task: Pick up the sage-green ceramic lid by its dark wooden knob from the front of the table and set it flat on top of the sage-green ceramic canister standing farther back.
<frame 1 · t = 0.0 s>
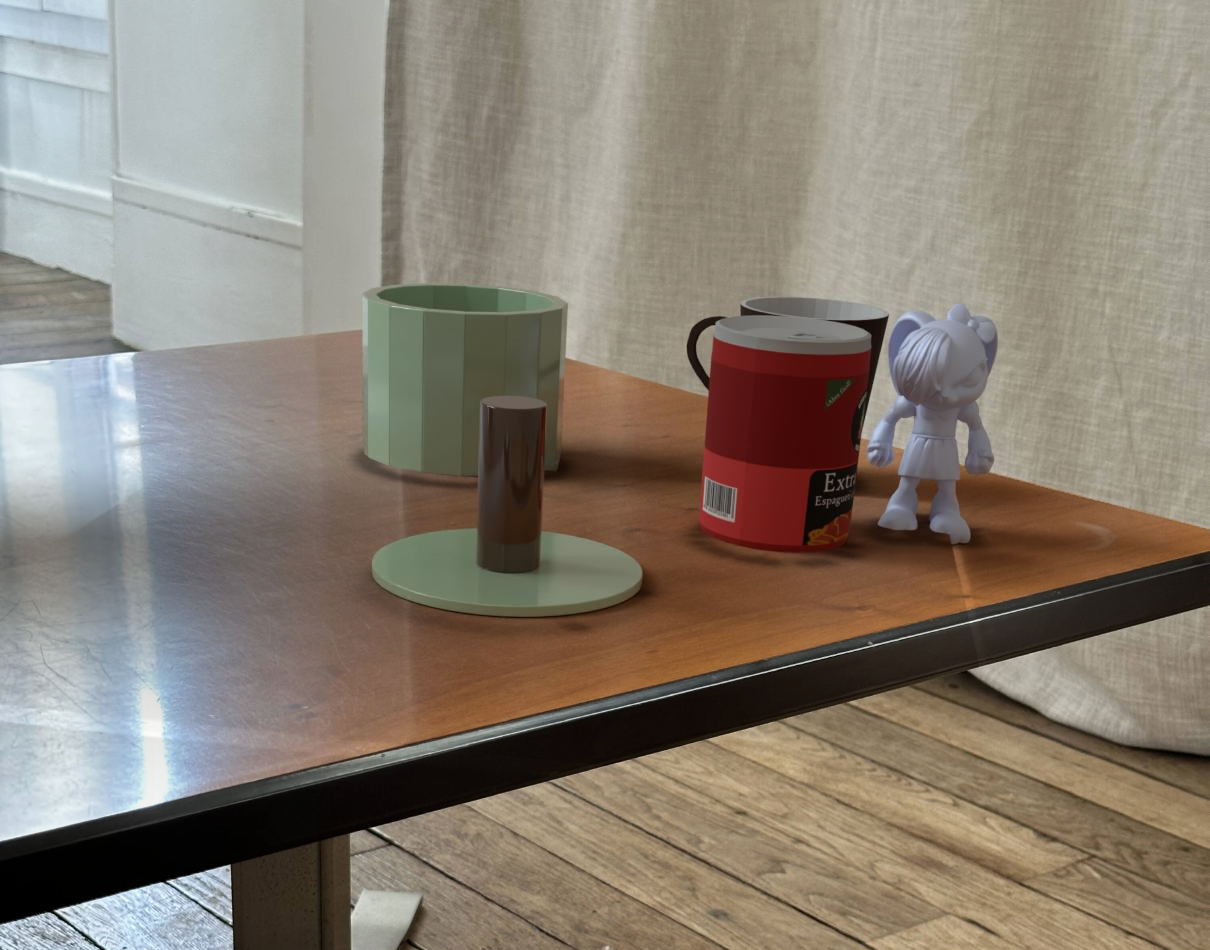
lid: (507, 574, 80), point 1 cm above the table
canned food: (771, 545, 90), on the table
canister: (462, 461, 103), on the table
toy figurine: (920, 534, 94), on the table
coffee mug: (780, 476, 105), on the table
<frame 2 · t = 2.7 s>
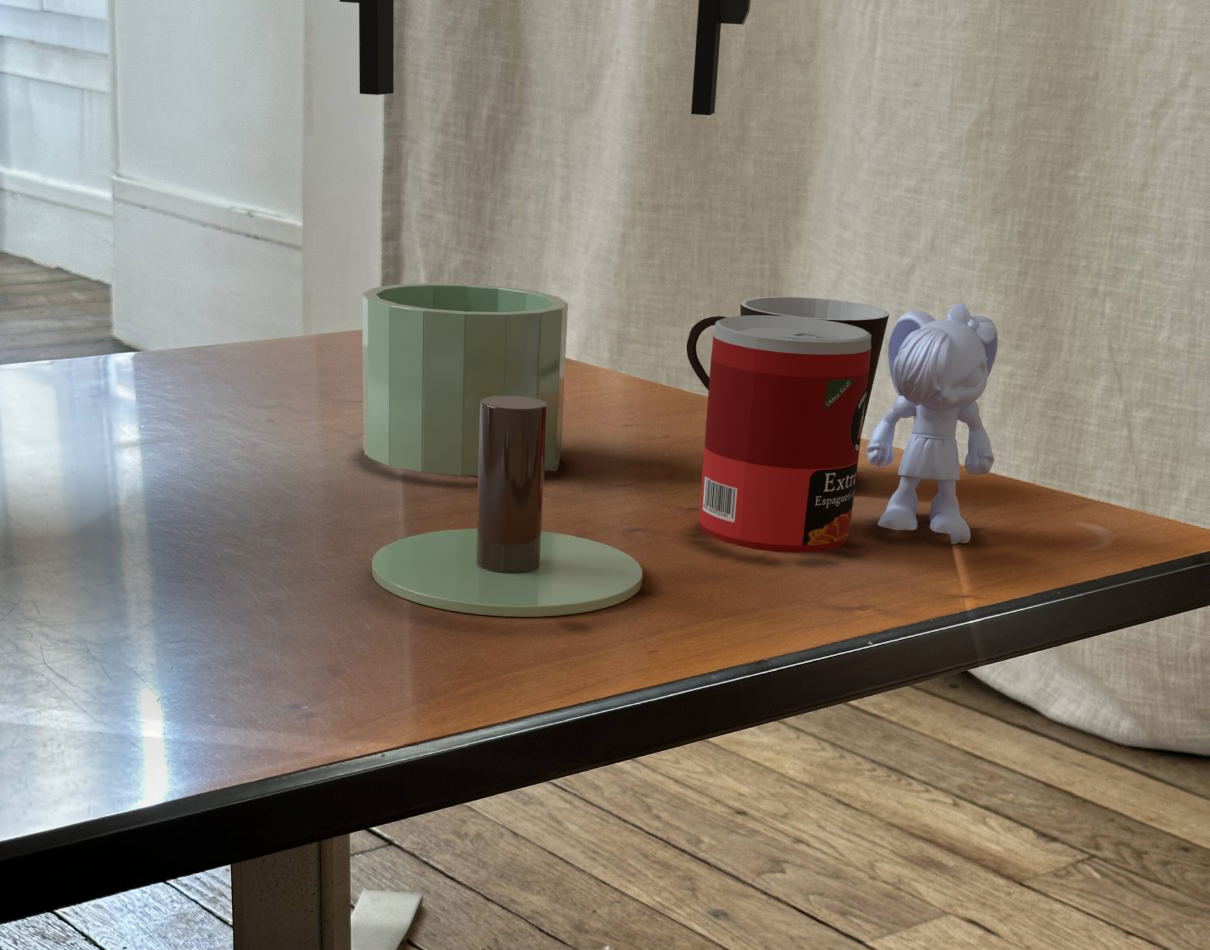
hand: (538, 104, 70), 21 cm above the table, tool pointing down, fingers open, 13 cm apart
nothing on the table moved.
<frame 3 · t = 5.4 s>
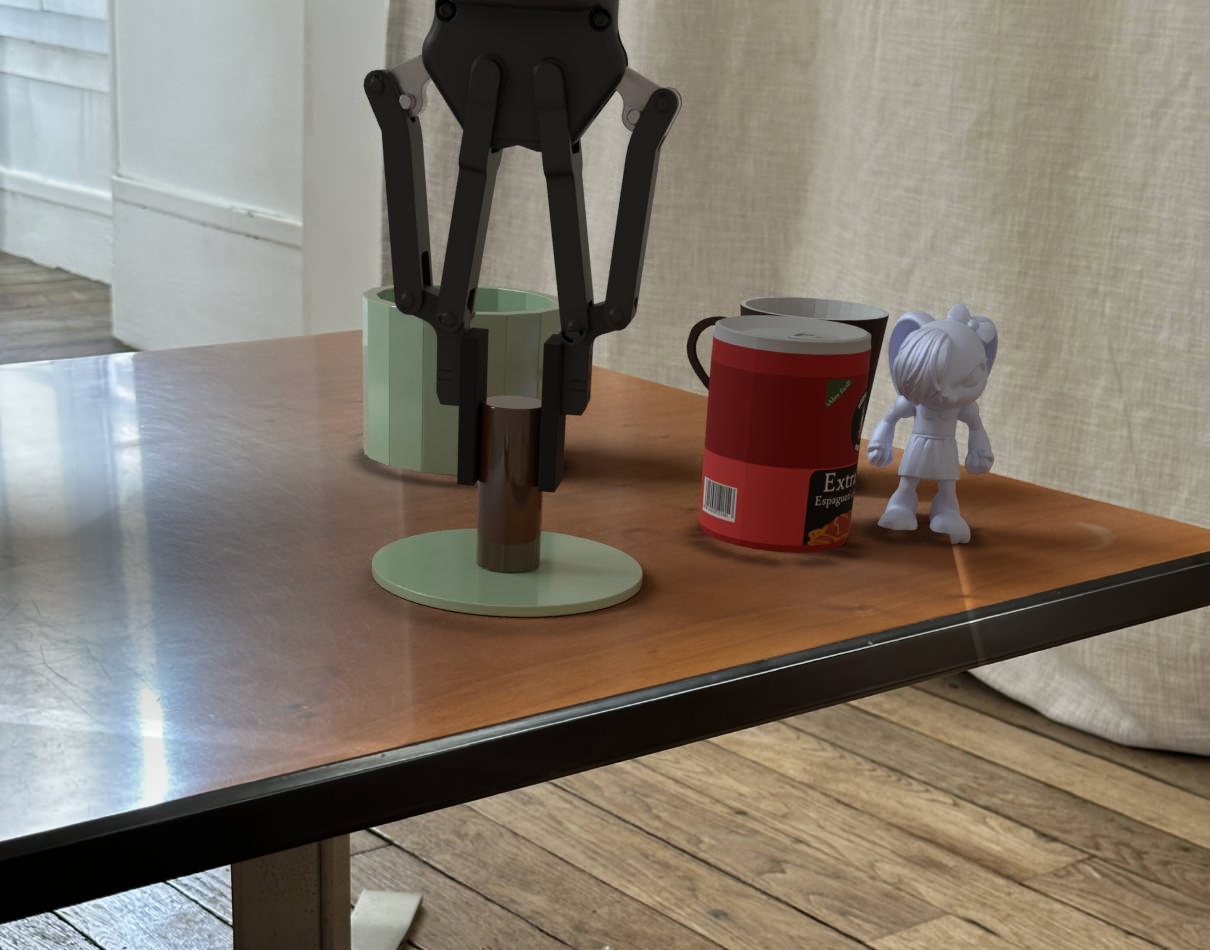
hand: (510, 480, 78), 5 cm above the table, tool pointing down, fingers closed on lid, 3 cm apart
lid: (507, 574, 80), point 1 cm above the table, touching gripper
everything else where it was.
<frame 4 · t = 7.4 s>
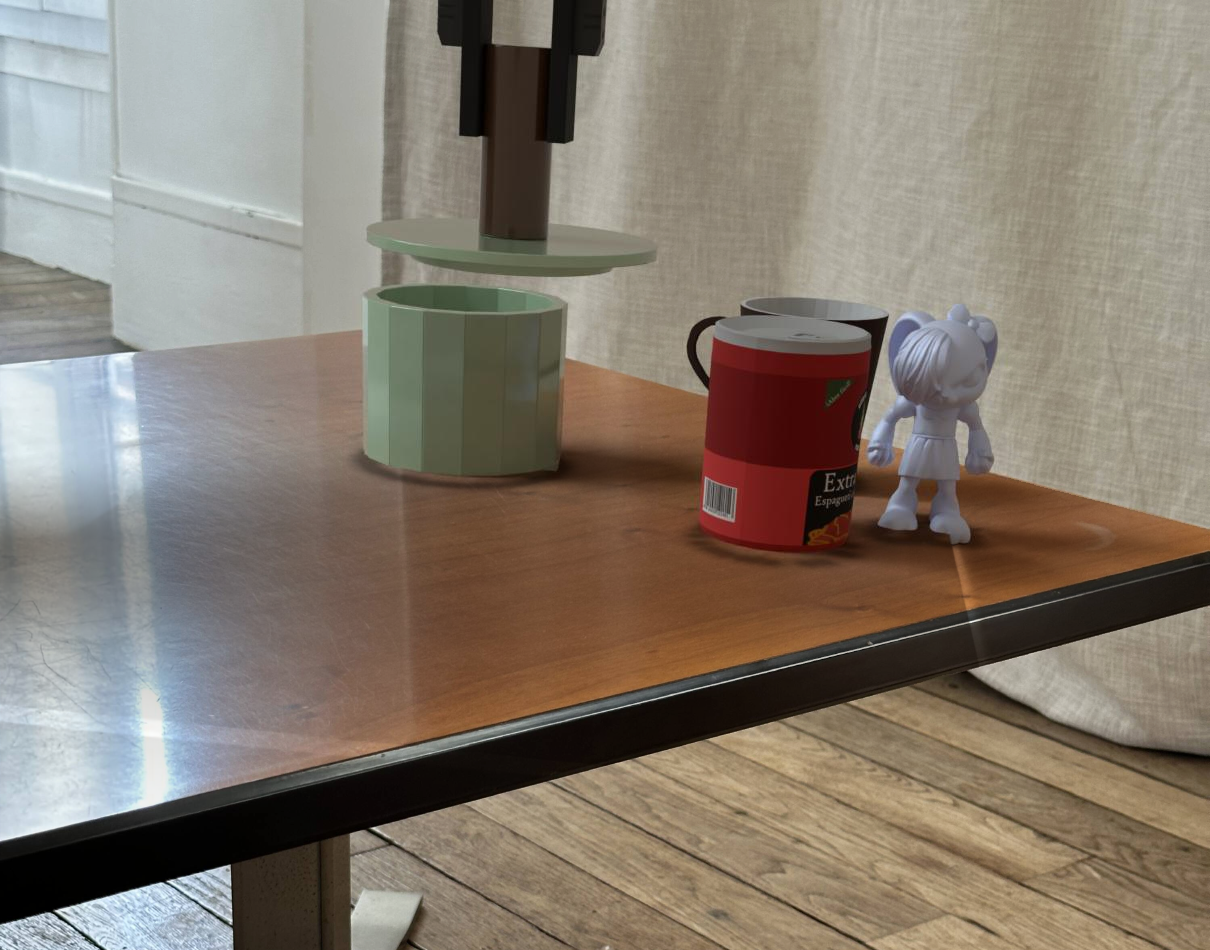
hand: (517, 137, 72), 20 cm above the table, tool pointing down, fingers closed on lid, 3 cm apart
lid: (512, 247, 74), point 15 cm above the table, touching gripper
everything else where it was.
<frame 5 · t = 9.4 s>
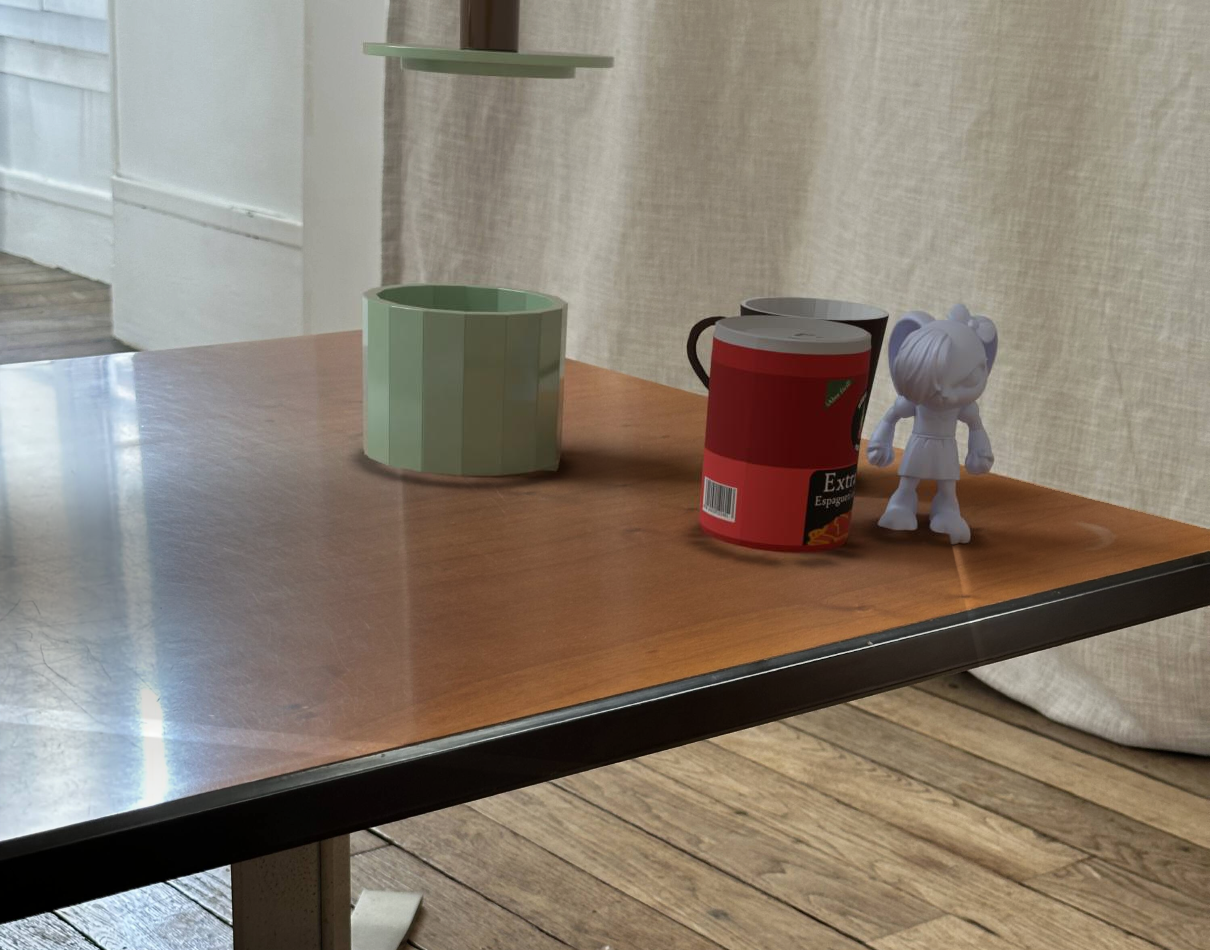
lid: (488, 60, 86), point 22 cm above the table, touching gripper
everything else where it was.
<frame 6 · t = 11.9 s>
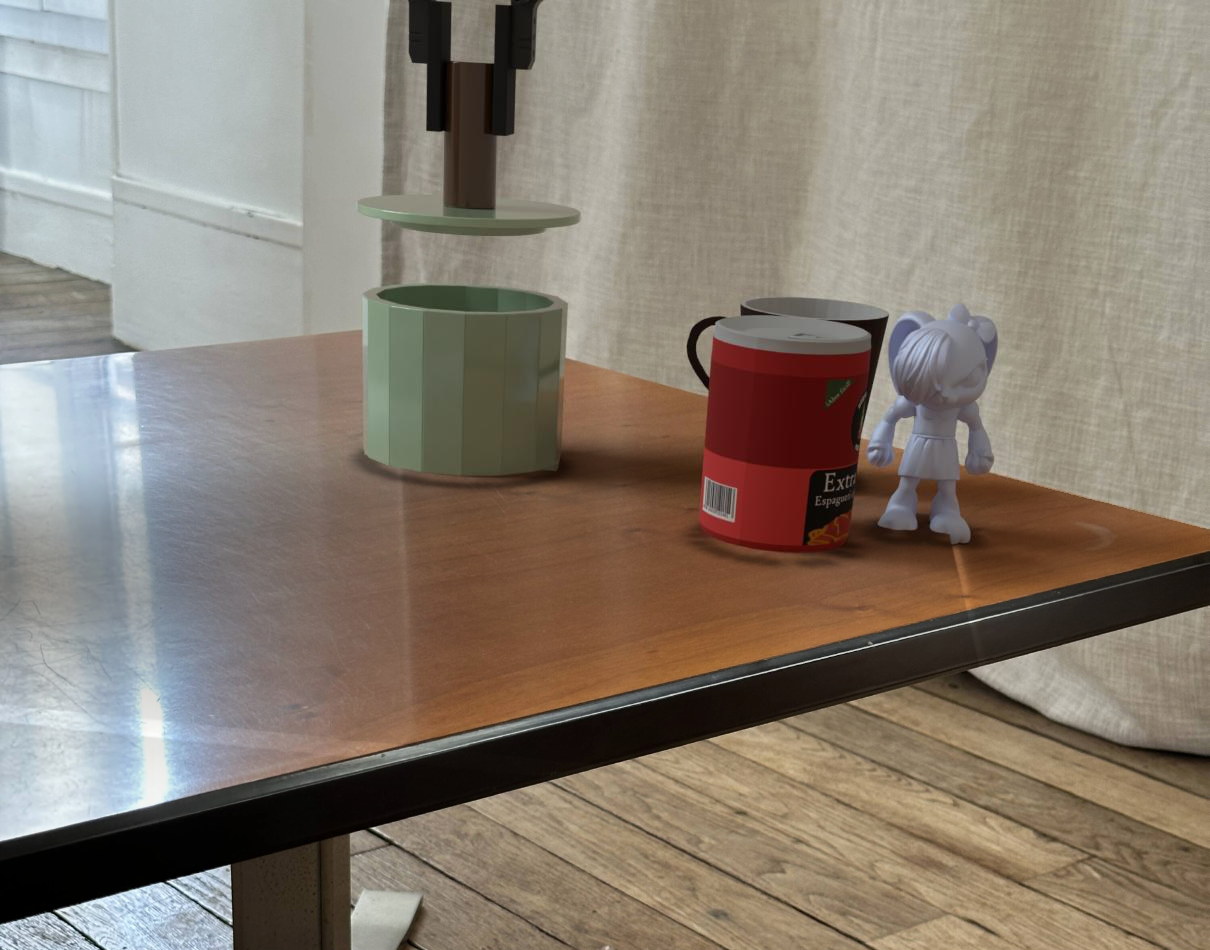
hand: (470, 131, 95), 18 cm above the table, tool pointing down, fingers closed on lid, 3 cm apart
lid: (469, 215, 97), point 14 cm above the table, touching gripper
everything else where it was.
when the fingers open (14 cm above the table, at t = 13.5 s): lid stays where it is, resting on canister.
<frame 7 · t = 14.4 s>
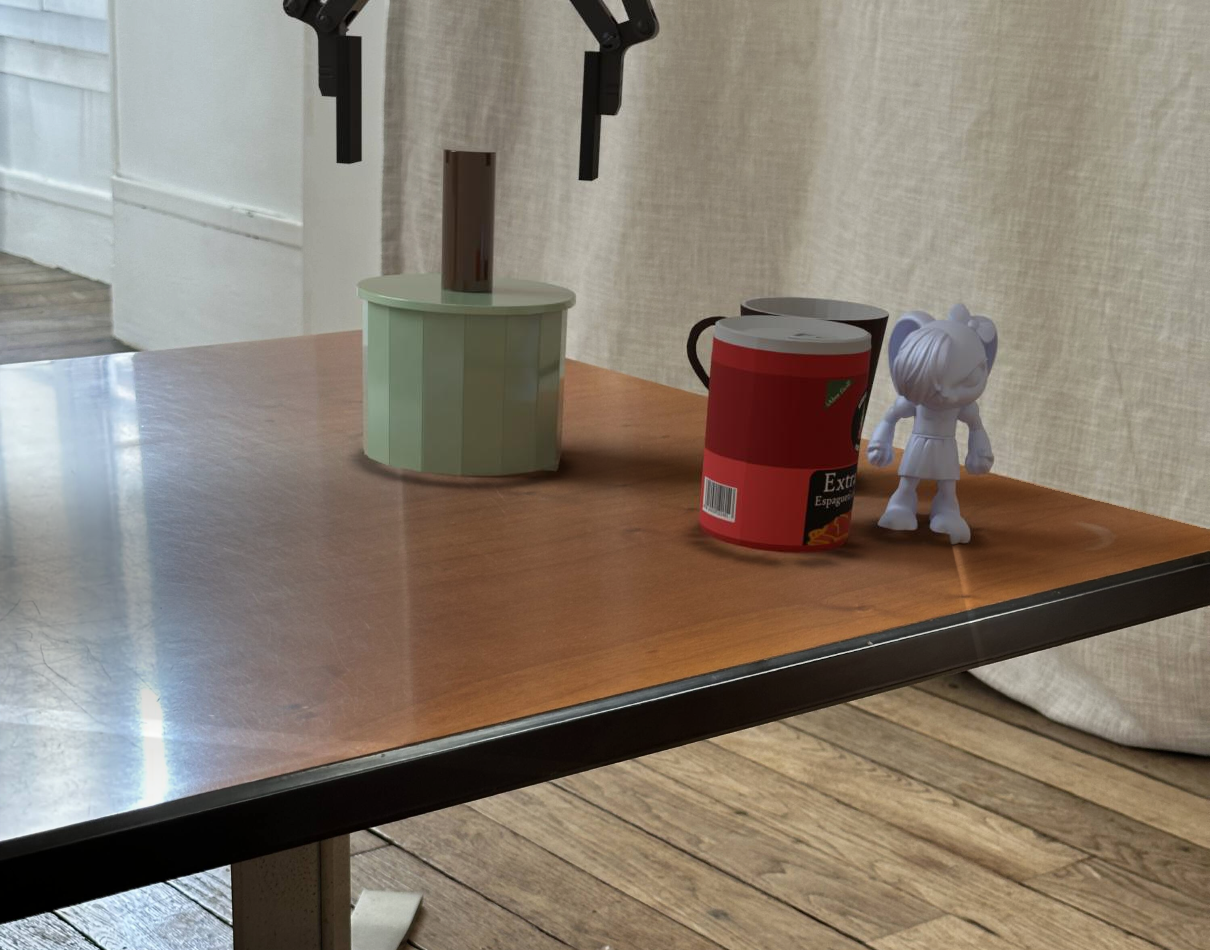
hand: (468, 171, 96), 16 cm above the table, tool pointing down, fingers open, 13 cm apart
lid: (466, 297, 99), point 9 cm above the table, touching canister
everything else where it was.
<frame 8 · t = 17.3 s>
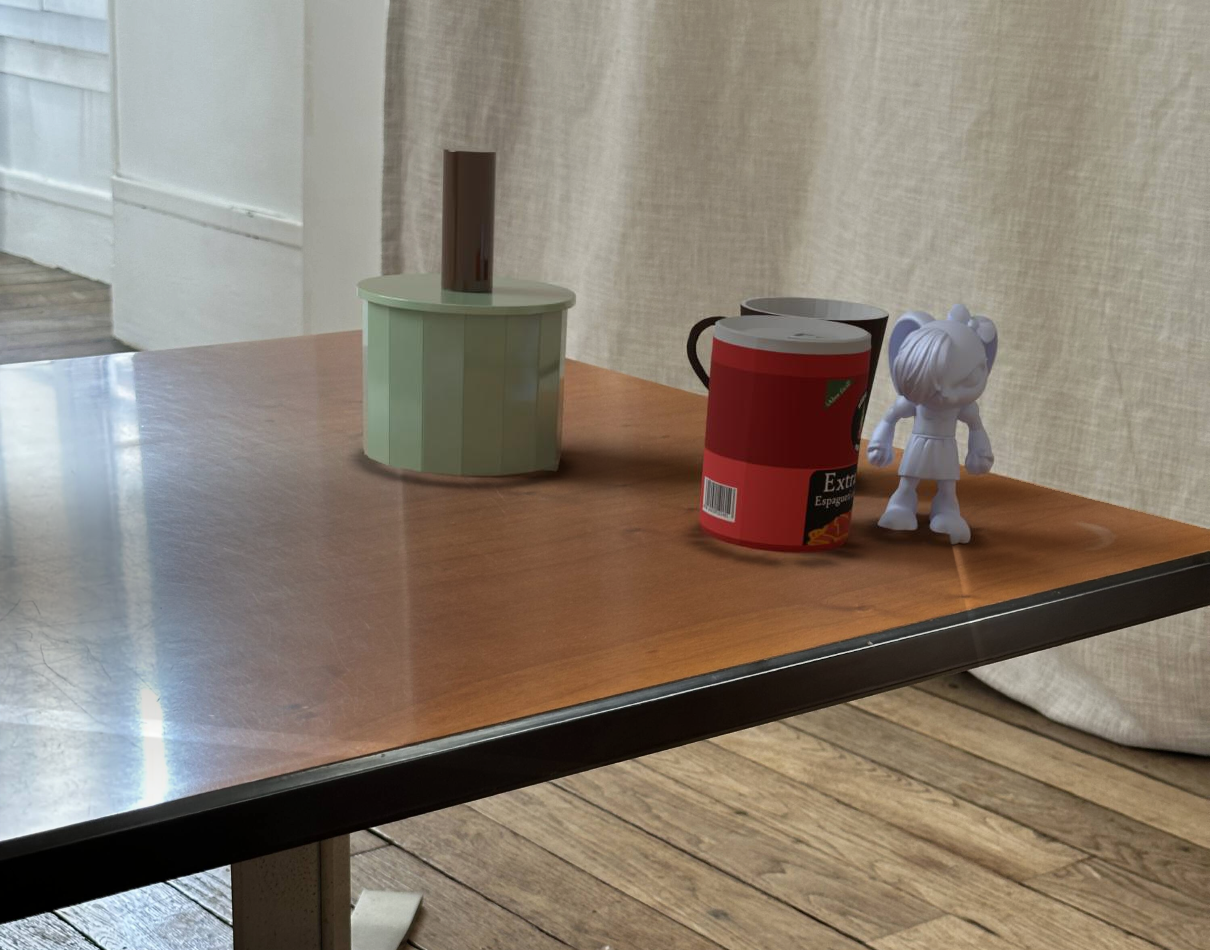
nothing on the table moved.
at the end: lid 0.0 cm off-centre on the canister, point 9.5 cm above the canister's base; lid tilted 0° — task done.
